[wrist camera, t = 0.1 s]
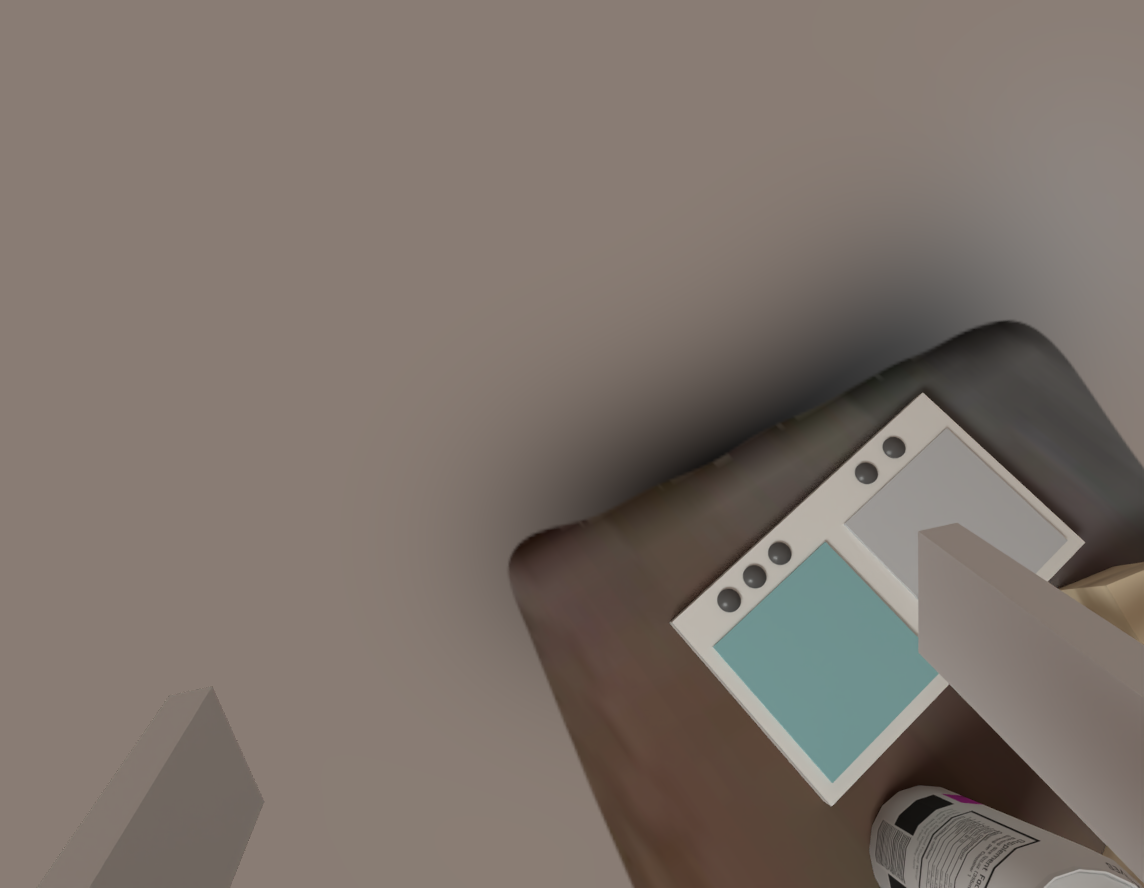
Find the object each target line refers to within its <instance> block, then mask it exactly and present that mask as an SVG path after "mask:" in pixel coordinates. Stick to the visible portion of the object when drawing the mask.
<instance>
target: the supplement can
mask: <svg viewBox="0 0 1144 888" xmlns="http://www.w3.org/2000/svg"><path fill="white" fill-rule="evenodd" d="M869 852H870V857H871V862H872V867H873V872H874V876H875V878H876V880H877V882H878V884H879V886H880V887H881V888H1143V887H1142V885H1141V884H1139V883H1138V882H1137V881H1136V880H1135V879H1134V878H1133V877H1132V876H1131V875H1130V874H1128V873H1127V872H1126V871H1125V870H1124V869H1123V868H1122V867H1121V866H1120V865H1118V864H1117V863H1116V862H1115V861H1114V860H1112V859H1110V858H1108V857H1106V856H1103V855H1101V854H1099V853H1097V852H1095V851H1093V850H1091V849H1088V848H1086V847H1084V846H1082V845H1080V844H1077V843H1075V842H1072V841H1070V840H1067V839H1065V838H1063V837H1060V836H1058V835H1055V834H1053V833H1051V832H1048V831H1046V830H1043V829H1041V828H1038V827H1036V826H1034V825H1031V824H1029V823H1026V822H1024V821H1022V820H1019V819H1017V818H1014V817H1012V816H1010V815H1007V814H1005V813H1002V812H1000V811H997V810H995V809H993V808H990V807H988V806H985V805H983V804H981V803H978V802H976V801H973V800H971V799H969V798H966V797H964V796H961V795H959V794H956V793H954V792H952V791H949V790H947V789H944V788H942V787H934V786H923V785H918V786H914V787H911V788H908V789H905V790H902V791H899V792H897V793H896V794H895V795H894V796H893V797H892V798H890V799H889V800H888V801H887V802H886V803H885V804H884V805H882V807H881V809H880V811H879V813H878V815H877V817H876V819H875V821H874V823H873V825H872V831H871V839H870V848H869Z"/></svg>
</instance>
